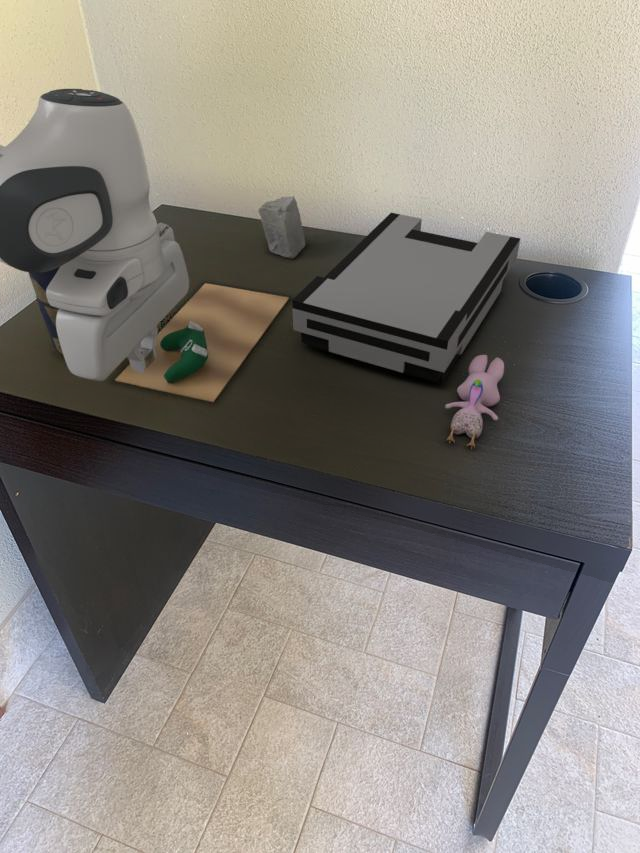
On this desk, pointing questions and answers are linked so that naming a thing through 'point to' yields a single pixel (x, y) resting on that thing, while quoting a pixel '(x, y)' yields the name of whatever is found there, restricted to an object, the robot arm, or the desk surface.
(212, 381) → the cork mat
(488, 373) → the rabbit figure
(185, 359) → the gaming controller
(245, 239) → the desk surface
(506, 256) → the game console
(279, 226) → the mineral specimen
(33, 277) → the canister
